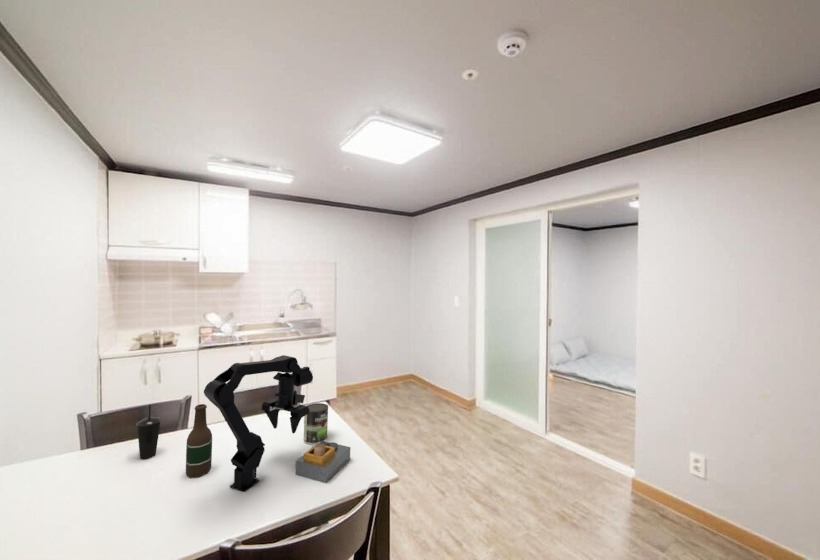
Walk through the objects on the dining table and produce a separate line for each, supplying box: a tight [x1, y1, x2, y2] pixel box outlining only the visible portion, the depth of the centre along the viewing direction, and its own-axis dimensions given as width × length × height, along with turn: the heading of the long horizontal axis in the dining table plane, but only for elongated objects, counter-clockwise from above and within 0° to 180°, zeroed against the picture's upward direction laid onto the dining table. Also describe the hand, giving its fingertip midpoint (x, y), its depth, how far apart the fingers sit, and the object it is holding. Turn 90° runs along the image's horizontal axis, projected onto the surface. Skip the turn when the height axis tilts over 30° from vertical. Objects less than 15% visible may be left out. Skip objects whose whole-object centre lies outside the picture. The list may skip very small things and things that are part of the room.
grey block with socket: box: [294, 441, 351, 484], centre depth 121 cm, size 16×13×8 cm
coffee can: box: [303, 402, 329, 445], centre depth 143 cm, size 10×10×14 cm
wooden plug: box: [314, 444, 325, 456], centre depth 118 cm, size 4×4×9 cm
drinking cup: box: [135, 404, 162, 460], centre depth 126 cm, size 8×8×20 cm
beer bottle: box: [185, 403, 213, 479], centre depth 116 cm, size 8×8×24 cm
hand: (284, 430), depth 122 cm, fingers open, 9 cm apart
